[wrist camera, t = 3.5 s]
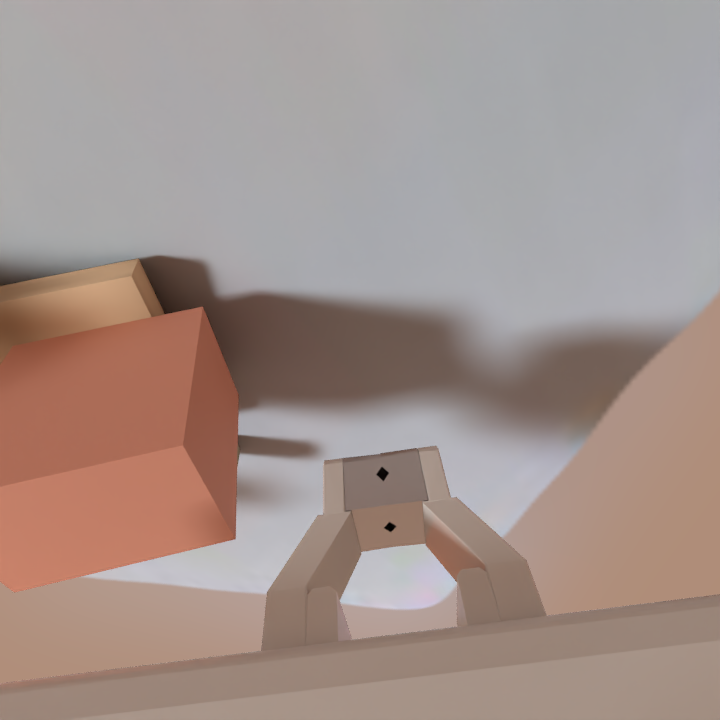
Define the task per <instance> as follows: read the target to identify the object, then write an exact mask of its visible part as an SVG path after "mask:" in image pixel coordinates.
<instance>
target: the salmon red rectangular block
mask: <svg viewBox="0 0 720 720" xmlns="http://www.w3.org/2000/svg"><path fill="white" fill-rule="evenodd" d="M238 406H239V395H238V392H237V390H236V387H235V385H234V382H233V380H232V377H231V375H230V372H229V370H228V368H227V365H226V363H225V360H224V358H223V355H222V353H221V350H220V348H219V345H218V343H217V340H216V338H215V335H214V333H213V330H212V328H211V325H210V323H209V320H208V318H207V315H206V313H205V311H204V308H203V307H198V308H193V309H188V310H184V311H179V312H174V313H169V314H164V315H160V316H155V317H150V318H145V319H140V320H135V321H131V322H126V323H121V324H116V325H111V326H107V327H102V328H97V329H92V330H87V331H83V332H78V333H73V334H68V335H63V336H58V337H54V338H49V339H44V340H39V341H34V342H30V343H25V344H20V345H15V346H12V348H11V349H10V351H9V352H8V354H7V355H6V357H5V358H4V360H3V361H2V363H1V364H0V582H1V583H3V584H4V585H5V586H7V587H8V588H9V589H11V590H12V591H13V592H18V591H23V590H27V589H31V588H35V587H39V586H43V585H47V584H52V583H56V582H60V581H64V580H68V579H72V578H76V577H80V576H85V575H89V574H93V573H97V572H101V571H105V570H109V569H114V568H118V567H122V566H126V565H130V564H134V563H138V562H142V561H147V560H151V559H155V558H159V557H163V556H167V555H171V554H176V553H180V552H184V551H188V550H192V549H196V548H200V547H204V546H209V545H213V544H217V543H221V542H225V541H229V540H233V539H236V495H237V450H238Z"/></svg>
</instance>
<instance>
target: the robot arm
mask: <svg viewBox="0 0 720 720" xmlns="http://www.w3.org/2000/svg"><path fill="white" fill-rule="evenodd" d="M425 543H426V546H427V547H428V548H429V549H430V551H431V552H432V553H433V554H434V555H435V557H436V558H437V559H438V560H439V561H440V563H441V564H442V565H443V566H444V567H445V569H446V570H447V571H448V572H449V573H450V575H451V576H452V577H453V578H454V579H455V581H456V582H457V626H458V627H451V628H443V629H435V630H427V631H418V632H411V633H402V634H395V635H386V636H378V637H370V638H362V639H354V640H352V639H351V634H350V631H349V628H348V625H347V621H346V619H345V615H344V613H343V609H342V606H341V603H340V598H341V596H342V594H343V592H344V590H345V588H346V586H347V584H348V581H349V579H350V577H351V575H352V573H353V571H354V569H355V566H356V564H357V562H358V560H359V558H360V556H361V552H363V551H369V550H376V549H382V548H388V547H396V546H405V545H415V544H425ZM0 720H720V594H719V595H711V596H703V597H694V598H687V599H679V600H671V601H663V602H655V603H647V604H638V605H630V606H622V607H614V608H606V609H598V610H589V611H581V612H573V613H566V614H558V615H549V616H547V615H546V613H545V610H544V607H543V604H542V602H541V599H540V596H539V593H538V591H537V588H536V585H535V582H534V580H533V577H532V574H531V571H530V569H529V566H528V563H527V560H526V559H525V558H523V557H522V556H521V555H520V554H519V553H518V552H517V551H516V550H515V549H514V548H512V547H511V546H510V545H509V544H508V543H507V542H506V541H505V540H504V539H502V538H501V537H500V536H499V535H498V534H497V533H496V532H495V531H494V530H492V529H491V528H490V527H489V526H488V525H487V524H486V523H485V522H484V521H482V520H481V519H480V518H479V517H478V516H477V515H476V514H475V513H474V512H472V511H471V510H470V509H469V508H468V507H467V506H466V505H465V504H464V503H462V502H461V501H460V500H459V499H458V498H457V497H454V498H451V496H450V492H449V488H448V485H447V481H446V477H445V473H444V469H443V465H442V461H441V458H440V454H439V450H438V448H437V446H430V447H423V448H418V449H417V448H413V449H407V450H400V451H393V452H386V453H380V454H376V455H367V456H358V457H349V458H341V459H333V460H324V465H323V515H318V516H317V517H316V519H315V520H314V522H313V523H312V525H311V526H310V528H309V529H308V531H307V532H306V534H305V536H304V537H303V539H302V540H301V542H300V543H299V545H298V546H297V548H296V549H295V551H294V552H293V554H292V555H291V557H290V558H289V560H288V561H287V563H286V564H285V566H284V567H283V569H282V570H281V572H280V573H279V575H278V577H277V578H276V580H275V581H274V583H273V584H272V586H271V587H270V589H269V590H268V592H267V598H266V608H265V618H264V628H263V639H262V649H261V651H257V652H248V653H241V654H232V655H224V656H216V657H208V658H201V659H193V660H184V661H177V662H168V663H160V664H152V665H143V666H135V667H127V668H120V669H111V670H103V671H95V672H88V673H79V674H71V675H64V676H55V677H47V678H39V679H30V680H22V681H14V682H6V683H0Z"/></svg>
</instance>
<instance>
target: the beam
mask: <svg viewBox="0 0 720 720" xmlns="http://www.w3.org/2000/svg"><path fill="white" fill-rule="evenodd" d="M160 315H164V312H163V309H162V307H161V305H160V303H159V301H158V299H157V297H156V295H155V293H154V290H153V288H152V286H151V284H150V282H149V280H148V278H147V276H146V273H145V271H144V269H143V267H142V265H141V263H140V261H139V259H134V260H129V261H124V262H119V263H114V264H109V265H104V266H99V267H94V268H88V269H83V270H78V271H73V272H68V273H63V274H58V275H53V276H48V277H43V278H38V279H33V280H28V281H23V282H18V283H13V284H8V285H3V286H0V364H1V363H2V361H3V360H4V358H5V357H6V355H7V354H8V352H9V351H10V349H11V348H12V346H15V345H20V344H25V343H30V342H34V341H39V340H44V339H49V338H54V337H58V336H63V335H68V334H73V333H78V332H83V331H87V330H92V329H97V328H102V327H107V326H111V325H116V324H121V323H126V322H131V321H135V320H140V319H145V318H150V317H155V316H160Z"/></svg>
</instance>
